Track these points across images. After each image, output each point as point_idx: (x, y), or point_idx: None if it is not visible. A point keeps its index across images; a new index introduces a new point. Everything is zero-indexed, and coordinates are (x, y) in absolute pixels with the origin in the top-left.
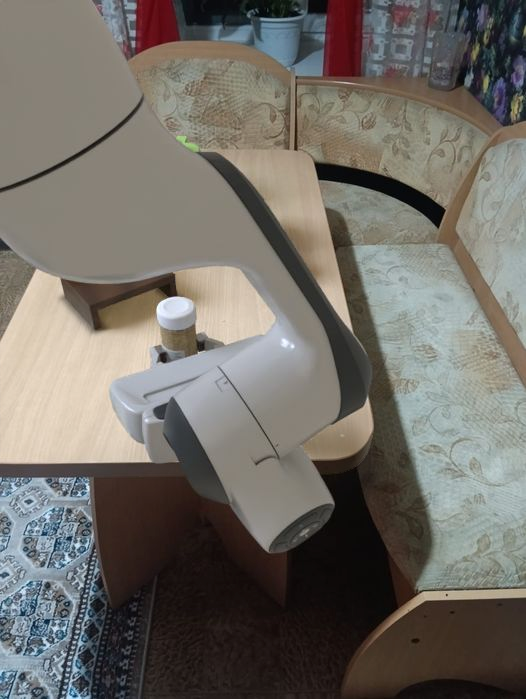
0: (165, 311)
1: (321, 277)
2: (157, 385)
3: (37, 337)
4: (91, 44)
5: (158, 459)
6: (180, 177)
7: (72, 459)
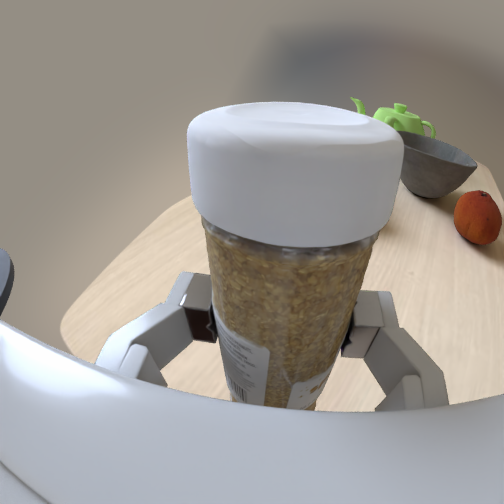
0: (222, 114)
1: None
2: (10, 446)
3: (195, 211)
4: None
5: None
6: None
7: None
